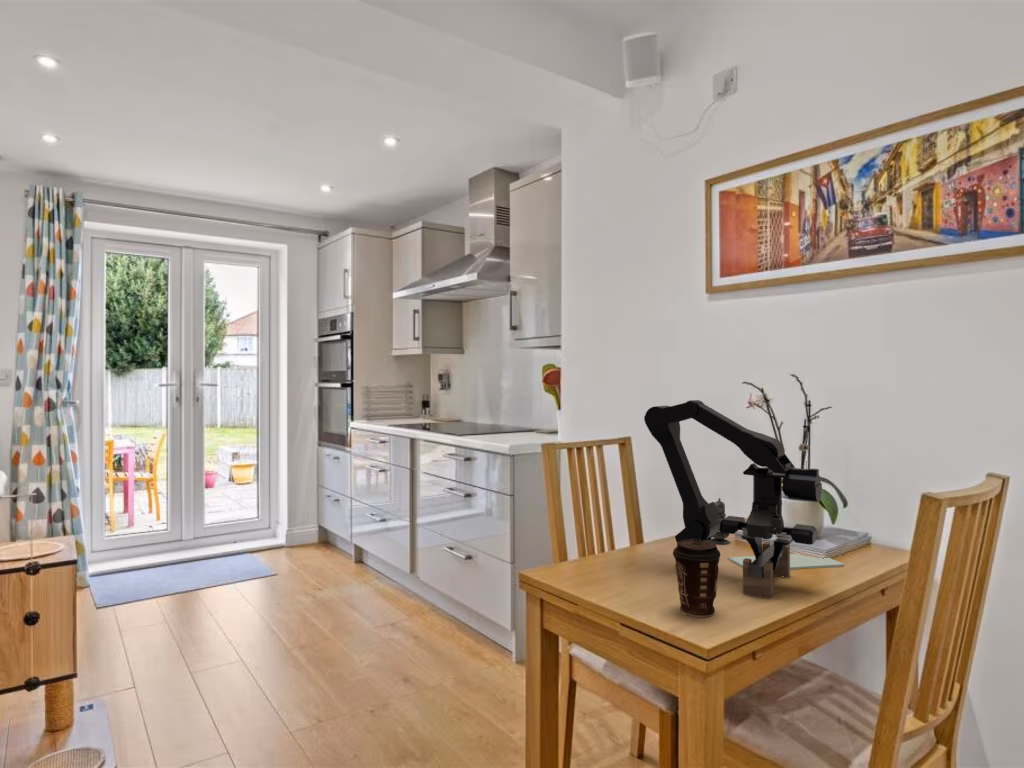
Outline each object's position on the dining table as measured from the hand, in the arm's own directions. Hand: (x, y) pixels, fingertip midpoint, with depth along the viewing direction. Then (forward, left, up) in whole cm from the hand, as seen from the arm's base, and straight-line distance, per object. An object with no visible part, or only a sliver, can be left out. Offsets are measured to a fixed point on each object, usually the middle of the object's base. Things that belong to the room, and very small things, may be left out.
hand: (767, 569), depth 135 cm
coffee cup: (-22, -12, -3) cm, 25 cm away
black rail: (0, 0, +1) cm, 1 cm away
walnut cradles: (0, 0, -3) cm, 3 cm away
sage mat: (+13, +13, -3) cm, 19 cm away
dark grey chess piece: (+7, +34, -3) cm, 35 cm away
